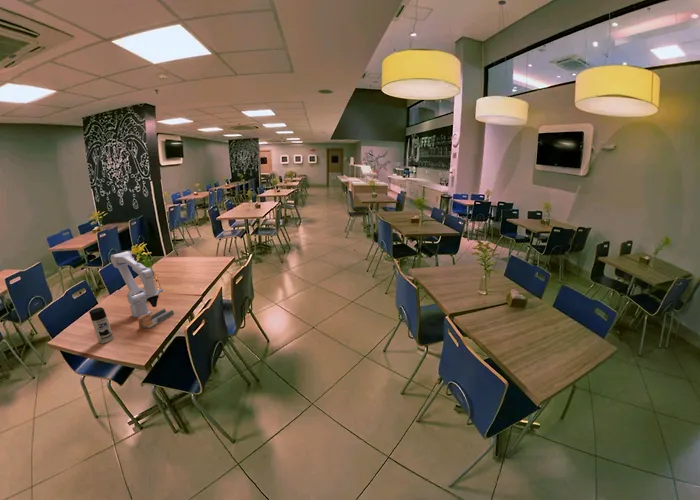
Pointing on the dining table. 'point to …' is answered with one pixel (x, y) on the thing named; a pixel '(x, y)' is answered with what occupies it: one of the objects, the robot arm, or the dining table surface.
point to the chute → (159, 317)
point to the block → (145, 320)
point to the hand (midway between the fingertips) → (154, 306)
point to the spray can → (101, 325)
